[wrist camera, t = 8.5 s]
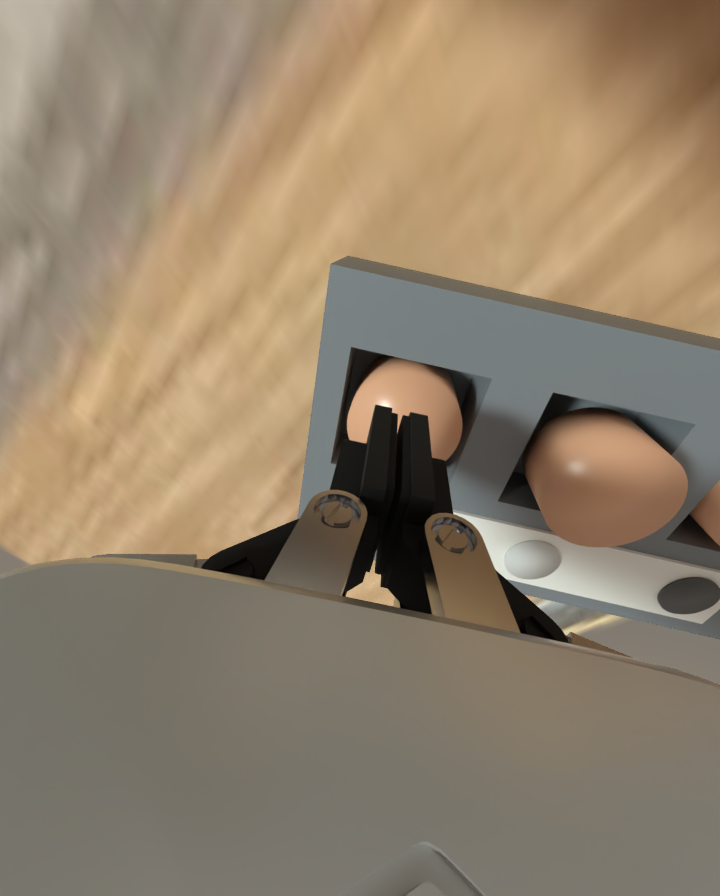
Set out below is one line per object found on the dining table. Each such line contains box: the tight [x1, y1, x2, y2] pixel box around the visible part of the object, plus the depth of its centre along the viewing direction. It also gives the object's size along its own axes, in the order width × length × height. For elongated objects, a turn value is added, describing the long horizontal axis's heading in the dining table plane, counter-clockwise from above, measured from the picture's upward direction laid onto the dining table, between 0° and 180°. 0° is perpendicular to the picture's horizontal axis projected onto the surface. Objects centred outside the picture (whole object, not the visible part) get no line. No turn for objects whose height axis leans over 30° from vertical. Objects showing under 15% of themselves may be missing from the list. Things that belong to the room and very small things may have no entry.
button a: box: [347, 355, 462, 461], centre depth 17 cm, size 5×5×3 cm
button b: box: [522, 407, 688, 547], centre depth 15 cm, size 5×5×3 cm
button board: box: [298, 256, 720, 639], centre depth 18 cm, size 14×24×4 cm, turn 79°
